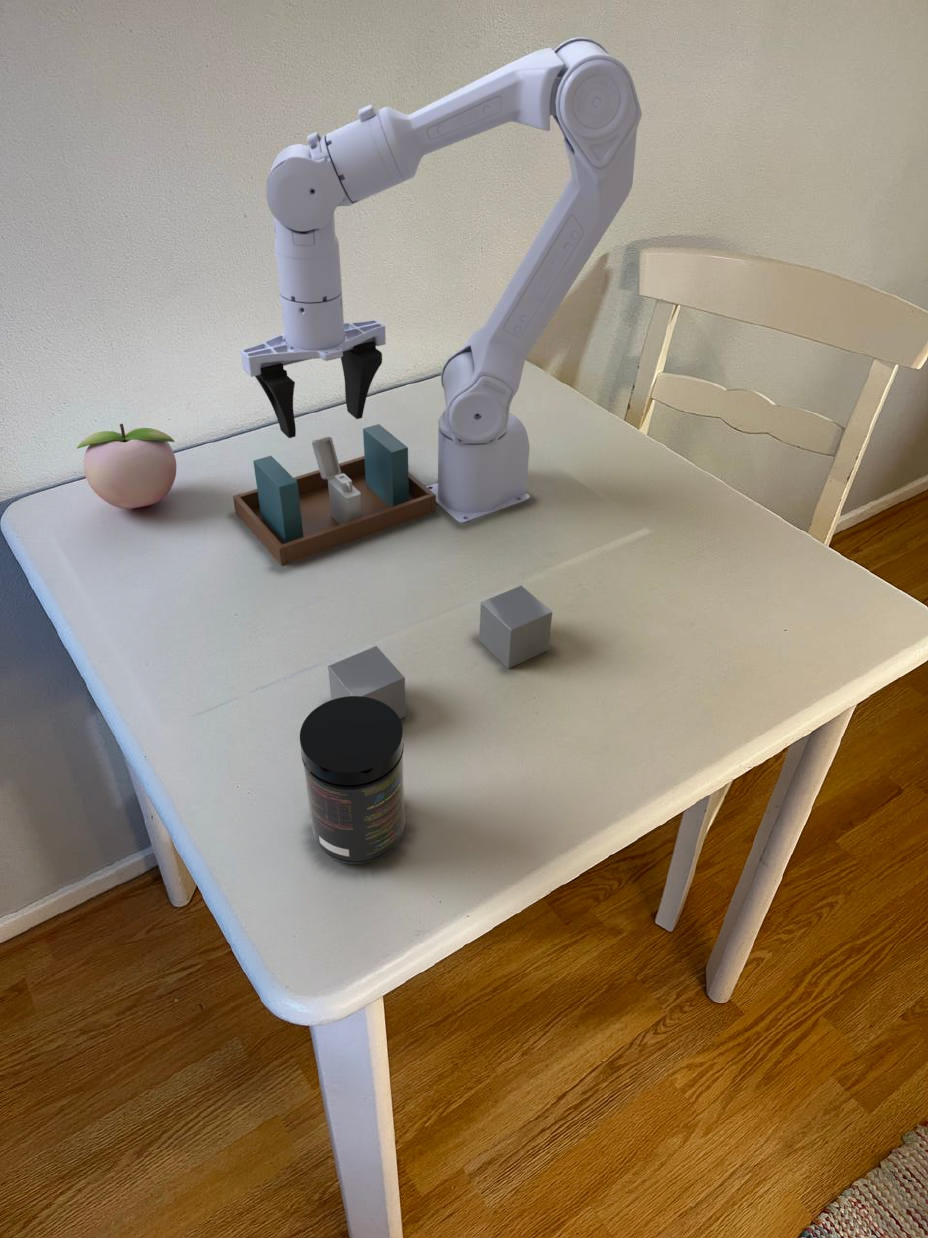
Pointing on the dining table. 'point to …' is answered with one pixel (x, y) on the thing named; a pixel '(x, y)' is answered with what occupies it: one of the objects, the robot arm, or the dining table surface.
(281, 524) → the slab
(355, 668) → the grey cube
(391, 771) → the supplement container
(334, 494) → the lighter
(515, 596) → the grey cube
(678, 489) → the dining table surface
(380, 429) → the slab
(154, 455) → the decorative fruit
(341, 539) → the tray
